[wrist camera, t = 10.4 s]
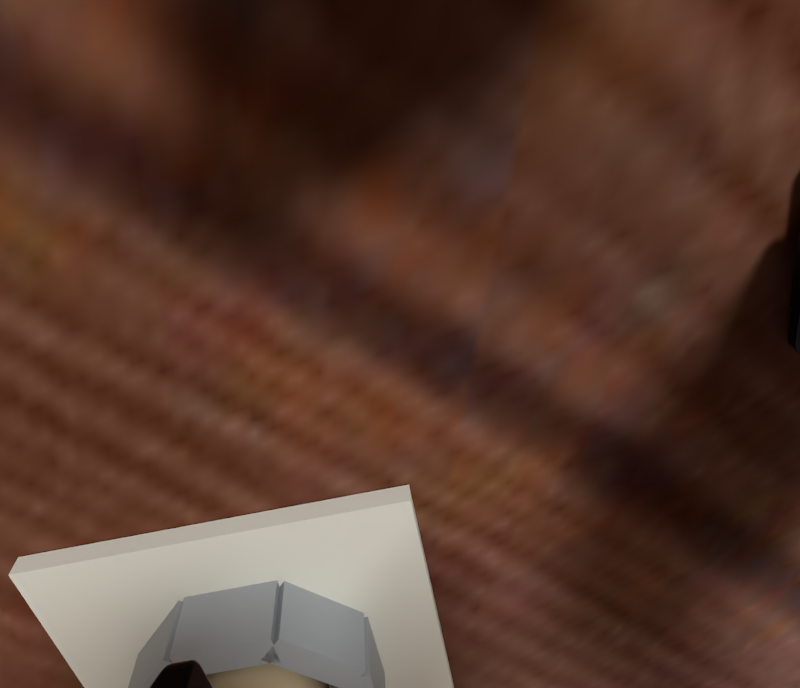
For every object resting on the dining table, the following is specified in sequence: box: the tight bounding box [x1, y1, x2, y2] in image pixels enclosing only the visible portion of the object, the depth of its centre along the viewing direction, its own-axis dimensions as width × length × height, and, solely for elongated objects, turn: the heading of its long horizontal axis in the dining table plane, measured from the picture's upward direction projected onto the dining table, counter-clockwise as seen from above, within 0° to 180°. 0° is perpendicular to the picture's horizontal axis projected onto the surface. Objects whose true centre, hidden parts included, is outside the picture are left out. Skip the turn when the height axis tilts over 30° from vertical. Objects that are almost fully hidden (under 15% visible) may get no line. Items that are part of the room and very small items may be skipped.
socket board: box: [9, 485, 454, 688], centre depth 26 cm, size 14×14×3 cm
